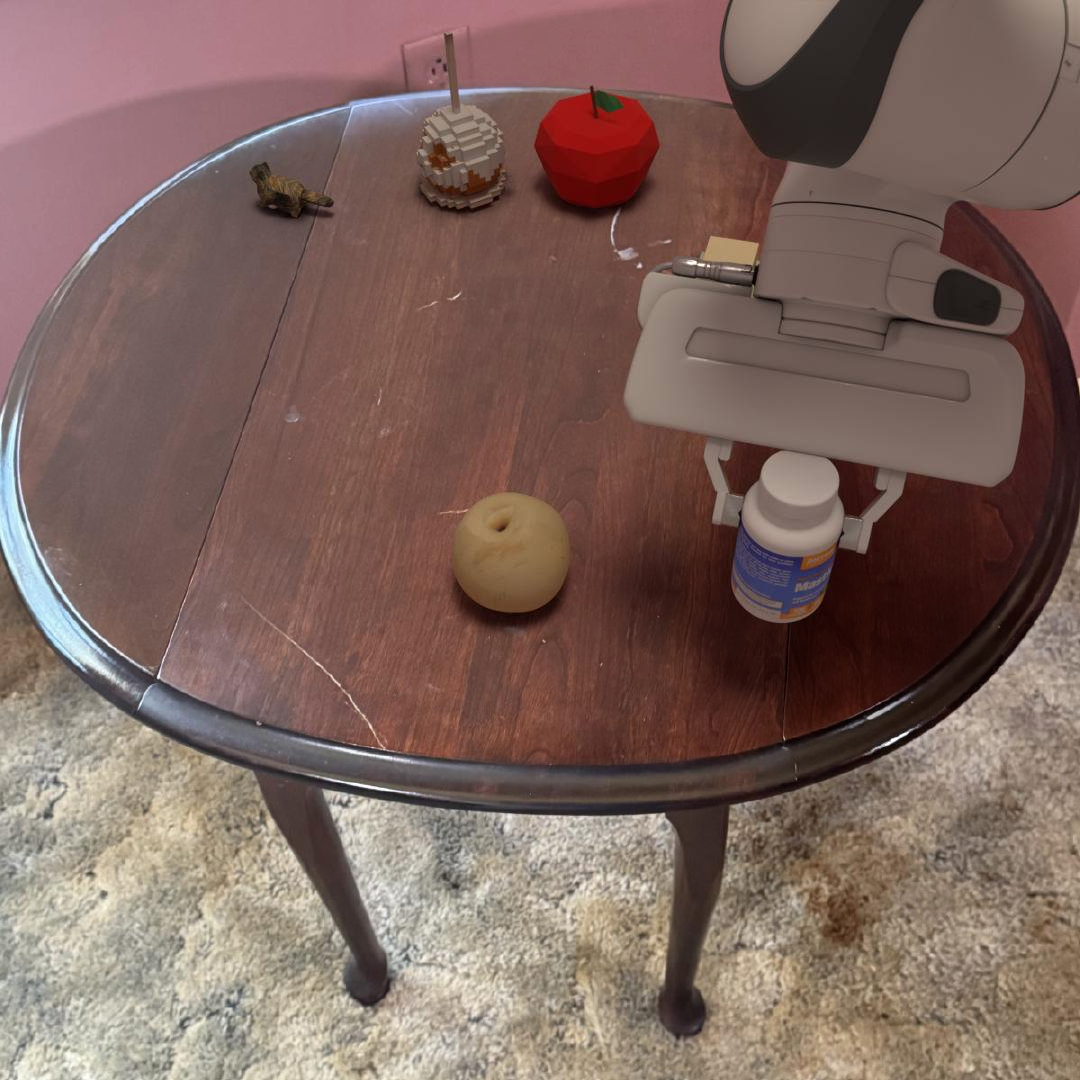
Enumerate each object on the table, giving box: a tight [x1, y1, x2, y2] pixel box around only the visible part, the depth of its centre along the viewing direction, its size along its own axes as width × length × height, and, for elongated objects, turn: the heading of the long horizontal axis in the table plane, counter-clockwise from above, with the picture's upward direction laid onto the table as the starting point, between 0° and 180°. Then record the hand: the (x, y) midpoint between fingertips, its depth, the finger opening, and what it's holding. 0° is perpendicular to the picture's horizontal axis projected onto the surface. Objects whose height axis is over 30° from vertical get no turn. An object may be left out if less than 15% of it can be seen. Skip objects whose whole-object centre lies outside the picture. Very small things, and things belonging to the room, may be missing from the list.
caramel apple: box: [415, 29, 507, 210], centre depth 98 cm, size 8×8×15 cm
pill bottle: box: [730, 449, 845, 624], centre depth 61 cm, size 5×5×10 cm
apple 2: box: [533, 84, 661, 210], centre depth 100 cm, size 11×11×10 cm
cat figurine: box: [249, 161, 335, 219], centre depth 102 cm, size 3×8×4 cm, turn 74°
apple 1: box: [450, 491, 571, 613], centre depth 74 cm, size 8×8×8 cm
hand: (788, 538), depth 60 cm, fingers closed on pill bottle, 5 cm apart
